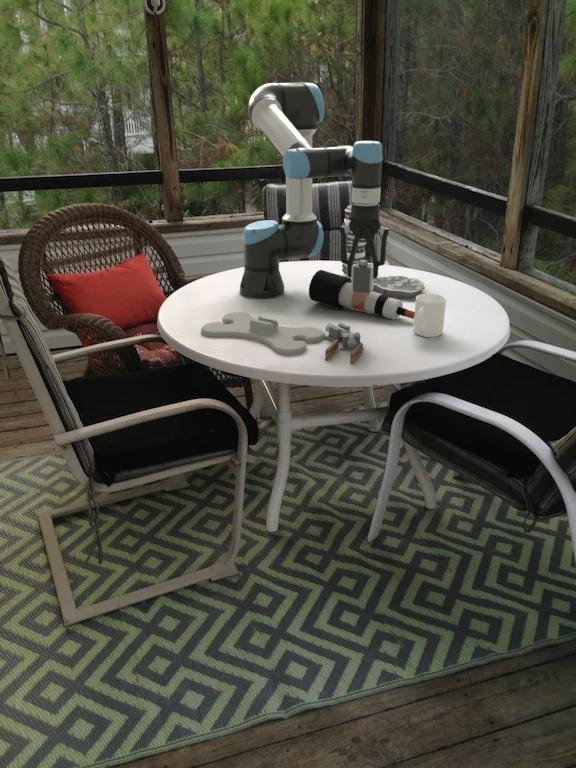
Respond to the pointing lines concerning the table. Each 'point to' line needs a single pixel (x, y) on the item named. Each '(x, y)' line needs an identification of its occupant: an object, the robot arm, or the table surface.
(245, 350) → the table surface
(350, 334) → the clip
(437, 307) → the mug
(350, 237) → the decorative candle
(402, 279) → the brain slice
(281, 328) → the holder
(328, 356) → the end holder
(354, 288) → the block
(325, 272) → the cable
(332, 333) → the clip
